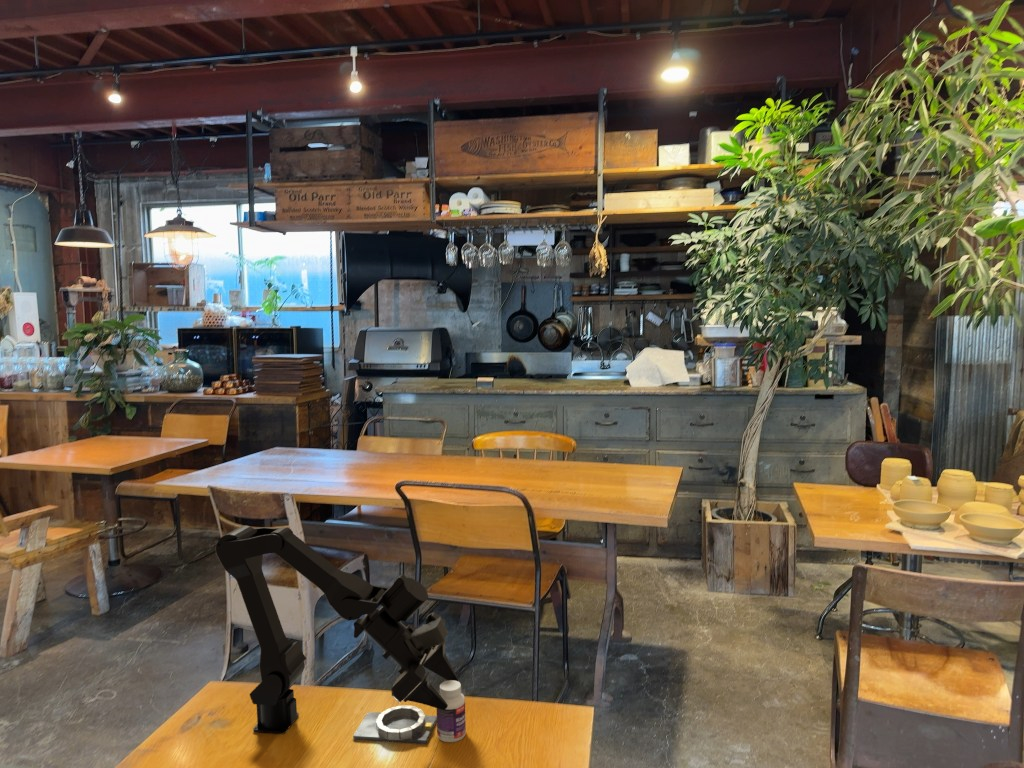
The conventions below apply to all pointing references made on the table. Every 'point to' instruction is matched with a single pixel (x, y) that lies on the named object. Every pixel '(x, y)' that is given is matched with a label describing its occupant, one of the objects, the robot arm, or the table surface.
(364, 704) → the table surface
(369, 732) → the plate
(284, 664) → the robot arm
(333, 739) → the table surface
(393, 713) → the collar
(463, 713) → the pill bottle
